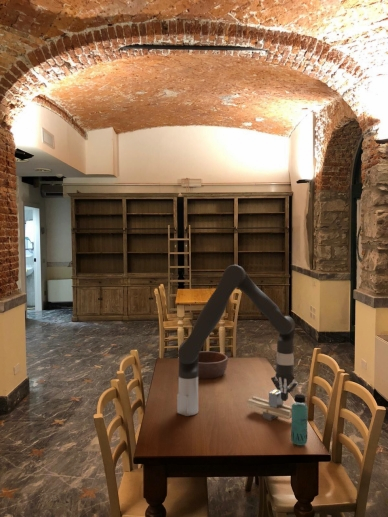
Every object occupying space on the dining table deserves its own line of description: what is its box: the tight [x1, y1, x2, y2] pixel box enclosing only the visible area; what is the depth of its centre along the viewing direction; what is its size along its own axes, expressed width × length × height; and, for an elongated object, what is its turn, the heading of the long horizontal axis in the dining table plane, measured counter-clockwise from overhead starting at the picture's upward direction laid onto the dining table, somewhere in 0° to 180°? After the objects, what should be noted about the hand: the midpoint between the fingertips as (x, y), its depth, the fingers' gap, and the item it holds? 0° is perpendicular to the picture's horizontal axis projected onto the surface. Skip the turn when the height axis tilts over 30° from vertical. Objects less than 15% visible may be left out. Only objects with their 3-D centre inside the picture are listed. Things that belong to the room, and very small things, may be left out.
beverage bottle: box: [290, 393, 309, 446], centre depth 165 cm, size 6×7×20 cm
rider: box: [268, 388, 284, 408], centre depth 188 cm, size 6×4×8 cm, turn 141°
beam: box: [246, 395, 292, 422], centre depth 190 cm, size 7×21×6 cm, turn 51°
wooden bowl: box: [198, 350, 229, 380], centre depth 250 cm, size 25×25×10 cm
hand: (284, 400), depth 186 cm, fingers closed
